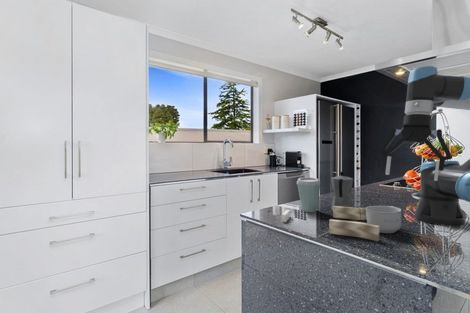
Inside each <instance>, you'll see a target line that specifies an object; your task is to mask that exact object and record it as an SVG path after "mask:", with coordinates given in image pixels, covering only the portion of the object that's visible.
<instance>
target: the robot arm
mask: <svg viewBox="0 0 470 313" xmlns="http://www.w3.org/2000/svg"><path fill="white" fill-rule="evenodd" d="M434 107H436V108H443V109H444V108H445V109H453V110H454V109H456V110H463V111H470V77H468V76H462V75H461V76H460V75H459V76H458V75H457V76H456V75H444V74H443V75H442V74H438V68H437V67H435V66H433V65H424V66H418V67H415V68H413V69H411V70H410V72H409V75H408V80H407V90H406V99H405V107H404V114H405V115H404V116H403V124H402V128H401V129H397V128H392V129H391V132H390V135H389V136H388V138H386V141H384V143H383V144H382V145H381V148H380V149H379V150H378V154H380V155H382V156H383V161H382V162H383V163H382V164H383V166H385V175H387V176H389V175H390V174H391V173H390V172H391V166H392V165H391V163H392V156H390V155H392V154H393V153H394V152H395V151H396V150H398V148H400V147H401V146H402V145H403V144H405V142H408V143H417V144H418V143H419V144H420V143H421V144H422V143H423V142H424V143H425V145H426V146H427V147H428V148H429V149H430V151H432V153H434V155H435V156H436V157H437V158H438V159H439V160H438V159H437V160H436V161H425V162H422V163H421V165H420V171H419V173H420V186H419V187H420V192H419V193H420V197H419V201H418V204H417V206H416V207H415V208H416V209H415V210H414V218H415V219H417V220H419V221H421V222H425V223H428V224H433V225H440V226H449V227H450V226H452V227H453V226H455V227H456V226H463V225H465V215H464V212H463V211H462V207H461V205H460V201H459V200H462V201H465V202H469V203H470V158H469V159H468V160H466V161H465V162H464V163H463V164H460V161H457V160H452V159H453V155H452V154H451V151H450V149H449V147H448V146H447V144H446V141H445V140H444V137H443V130H442V129H435V130H432V129H431V125H432V118H433V117H432V114H433V108H434ZM399 134H401V136H402V137H401V138H400V139H399V140H398V141H397V142H396V143H394V145H392V146H391V147H390V148H389V146H390V145H391V143H392V142H393V140H394V139H395V138H396V136H398V135H399ZM432 135H433V136H434V137H435V138H437V140H438V142H439V145H440V146H441V148H442V150H443V152H444V154H445V155H444V156H443V155H442V154H441V152H440V151H439V150H438V149H437V147H436V146H434V144H433V143H432V142H431V141H430V139H428V138H429V137H430V136H432Z"/></svg>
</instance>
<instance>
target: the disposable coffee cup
mask: <svg viewBox="0 0 470 313" xmlns="http://www.w3.org/2000/svg"><path fill="white" fill-rule="evenodd" d="M296 185H297V190H298V195H299V201H300V207H301V209H302V211H303V212H304V213H316V212H317V210H318V205H319V195H320V188H321V181H320V179H318V178H316V177H306V176H304V177H298V178H297V181H296Z"/></svg>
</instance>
